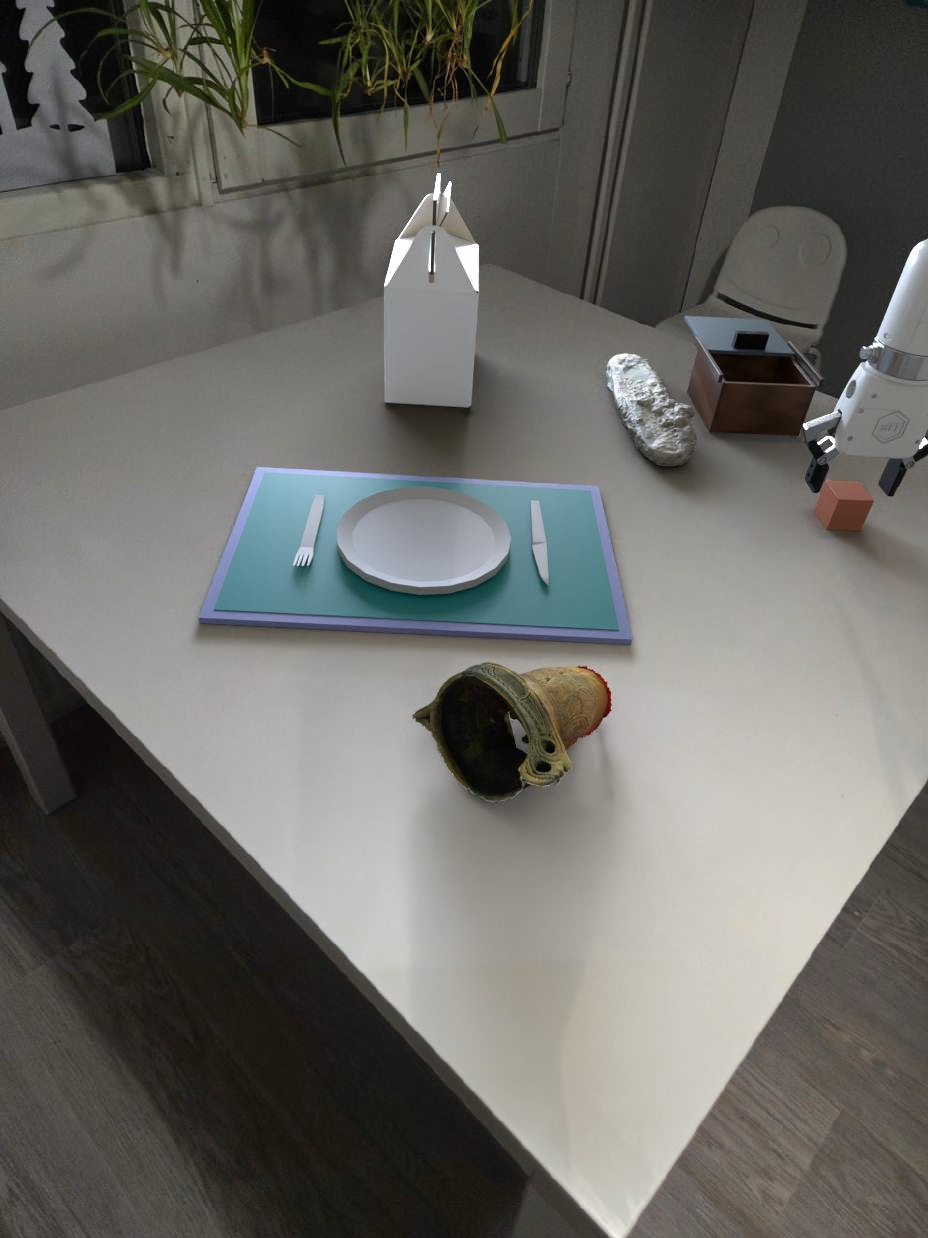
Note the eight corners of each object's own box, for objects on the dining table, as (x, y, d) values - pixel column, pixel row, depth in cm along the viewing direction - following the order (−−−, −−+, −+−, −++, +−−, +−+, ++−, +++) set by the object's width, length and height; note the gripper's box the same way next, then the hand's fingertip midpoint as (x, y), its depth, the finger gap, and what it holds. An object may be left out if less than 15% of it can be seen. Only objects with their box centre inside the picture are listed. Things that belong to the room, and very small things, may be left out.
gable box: (470, 409, 125) (484, 210, 107) (384, 403, 125) (383, 203, 107) (471, 350, 142) (483, 170, 124) (395, 345, 142) (396, 164, 124)
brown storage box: (774, 395, 136) (792, 340, 130) (804, 436, 125) (824, 379, 119) (682, 391, 135) (695, 336, 129) (703, 432, 124) (719, 374, 118)
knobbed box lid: (765, 322, 138) (771, 304, 136) (794, 357, 127) (800, 338, 125) (684, 319, 137) (688, 300, 135) (705, 353, 127) (710, 334, 125)
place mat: (199, 623, 85) (196, 606, 83) (257, 471, 108) (255, 456, 107) (631, 644, 86) (635, 628, 85) (597, 491, 110) (600, 476, 108)
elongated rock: (649, 375, 142) (592, 376, 141) (653, 345, 139) (595, 346, 138) (709, 470, 114) (638, 472, 114) (716, 435, 111) (643, 436, 110)
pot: (679, 667, 71) (548, 711, 58) (663, 788, 74) (535, 854, 61) (527, 624, 82) (390, 652, 70) (518, 729, 85) (385, 775, 73)
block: (847, 511, 109) (860, 481, 106) (860, 530, 106) (874, 500, 103) (813, 510, 109) (825, 480, 106) (826, 529, 106) (839, 499, 103)
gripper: (844, 368, 90) (792, 502, 101) (994, 377, 91) (927, 508, 102) (819, 341, 96) (772, 471, 107) (960, 350, 97) (900, 477, 108)
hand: (848, 489), depth 104 cm, fingers open, 9 cm apart
